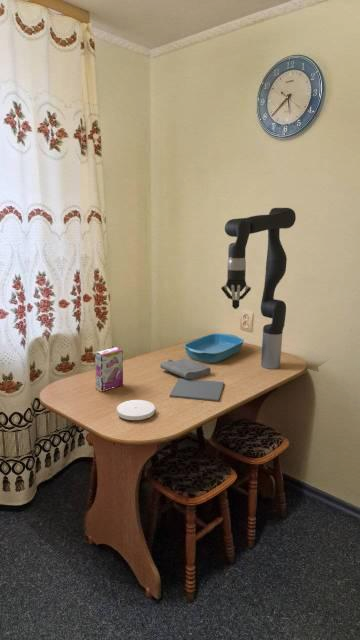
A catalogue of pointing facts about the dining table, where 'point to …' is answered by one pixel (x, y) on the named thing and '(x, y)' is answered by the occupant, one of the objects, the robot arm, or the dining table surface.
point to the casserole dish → (213, 347)
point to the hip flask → (185, 368)
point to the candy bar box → (109, 368)
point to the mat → (197, 389)
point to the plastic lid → (135, 409)
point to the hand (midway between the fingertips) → (235, 308)
